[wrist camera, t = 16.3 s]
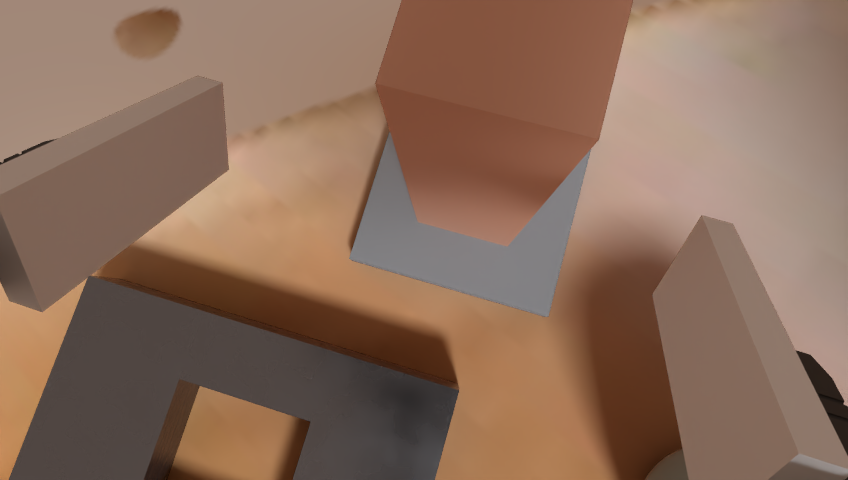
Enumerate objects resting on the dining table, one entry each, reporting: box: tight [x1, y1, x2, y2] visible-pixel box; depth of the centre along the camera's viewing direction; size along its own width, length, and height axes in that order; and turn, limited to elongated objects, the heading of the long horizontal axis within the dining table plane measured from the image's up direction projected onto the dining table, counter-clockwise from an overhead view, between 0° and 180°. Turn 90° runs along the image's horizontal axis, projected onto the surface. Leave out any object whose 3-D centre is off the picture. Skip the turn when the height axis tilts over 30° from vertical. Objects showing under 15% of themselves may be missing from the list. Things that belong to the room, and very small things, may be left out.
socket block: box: [9, 276, 459, 480], centre depth 25 cm, size 20×14×2 cm
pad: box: [349, 132, 591, 317], centre depth 27 cm, size 11×11×1 cm
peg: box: [375, 0, 633, 246], centre depth 19 cm, size 5×5×16 cm
